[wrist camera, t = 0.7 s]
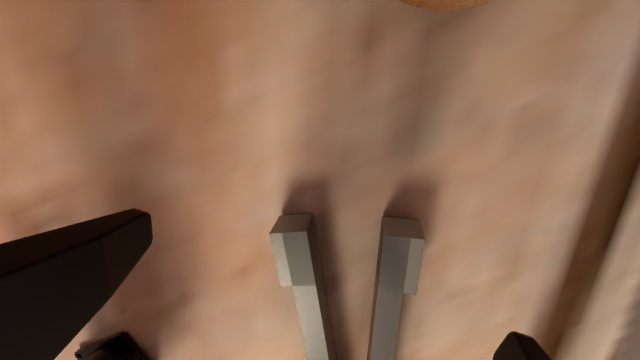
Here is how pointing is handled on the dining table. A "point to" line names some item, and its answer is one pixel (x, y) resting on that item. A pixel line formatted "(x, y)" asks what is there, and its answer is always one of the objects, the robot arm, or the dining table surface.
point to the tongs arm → (304, 281)
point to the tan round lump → (445, 4)
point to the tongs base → (393, 281)
